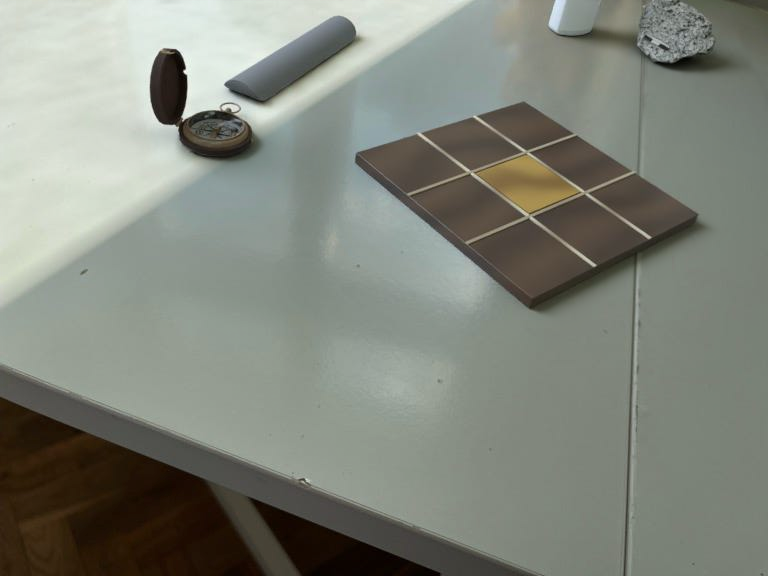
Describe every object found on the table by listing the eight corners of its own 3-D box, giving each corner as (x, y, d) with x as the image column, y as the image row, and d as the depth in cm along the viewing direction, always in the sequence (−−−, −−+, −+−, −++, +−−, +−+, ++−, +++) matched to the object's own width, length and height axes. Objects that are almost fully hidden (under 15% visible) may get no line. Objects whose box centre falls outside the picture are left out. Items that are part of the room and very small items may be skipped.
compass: (242, 165, 65) (243, 85, 60) (148, 146, 65) (142, 65, 60) (267, 118, 71) (270, 42, 66) (182, 101, 71) (179, 24, 66)
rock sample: (621, 21, 89) (678, -34, 89) (606, 41, 97) (658, -10, 96) (685, 87, 89) (743, 32, 88) (664, 101, 97) (717, 51, 96)
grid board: (694, 223, 67) (699, 213, 67) (529, 308, 56) (533, 297, 55) (521, 110, 78) (524, 100, 78) (354, 162, 67) (355, 151, 67)
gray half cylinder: (358, 37, 86) (360, 22, 85) (258, 106, 72) (258, 88, 71) (325, 26, 87) (326, 10, 86) (220, 91, 73) (220, 73, 72)
